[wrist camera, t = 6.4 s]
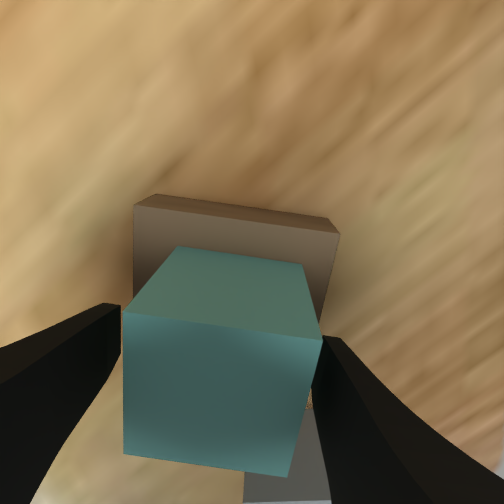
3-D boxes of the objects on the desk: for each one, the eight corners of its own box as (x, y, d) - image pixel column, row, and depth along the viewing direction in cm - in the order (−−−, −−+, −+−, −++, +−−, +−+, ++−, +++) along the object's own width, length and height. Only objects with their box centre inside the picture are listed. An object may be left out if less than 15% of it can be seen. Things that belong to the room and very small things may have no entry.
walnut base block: (295, 354, 17) (301, 395, 15) (154, 334, 17) (133, 372, 15) (325, 215, 15) (340, 234, 12) (158, 192, 15) (133, 204, 12)
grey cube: (335, 466, 20) (357, 568, 15) (257, 469, 20) (255, 570, 16) (333, 406, 18) (357, 499, 13) (248, 411, 19) (242, 502, 14)
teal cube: (280, 364, 14) (287, 477, 9) (171, 348, 14) (123, 454, 9) (301, 264, 12) (323, 340, 8) (177, 245, 12) (122, 311, 8)
